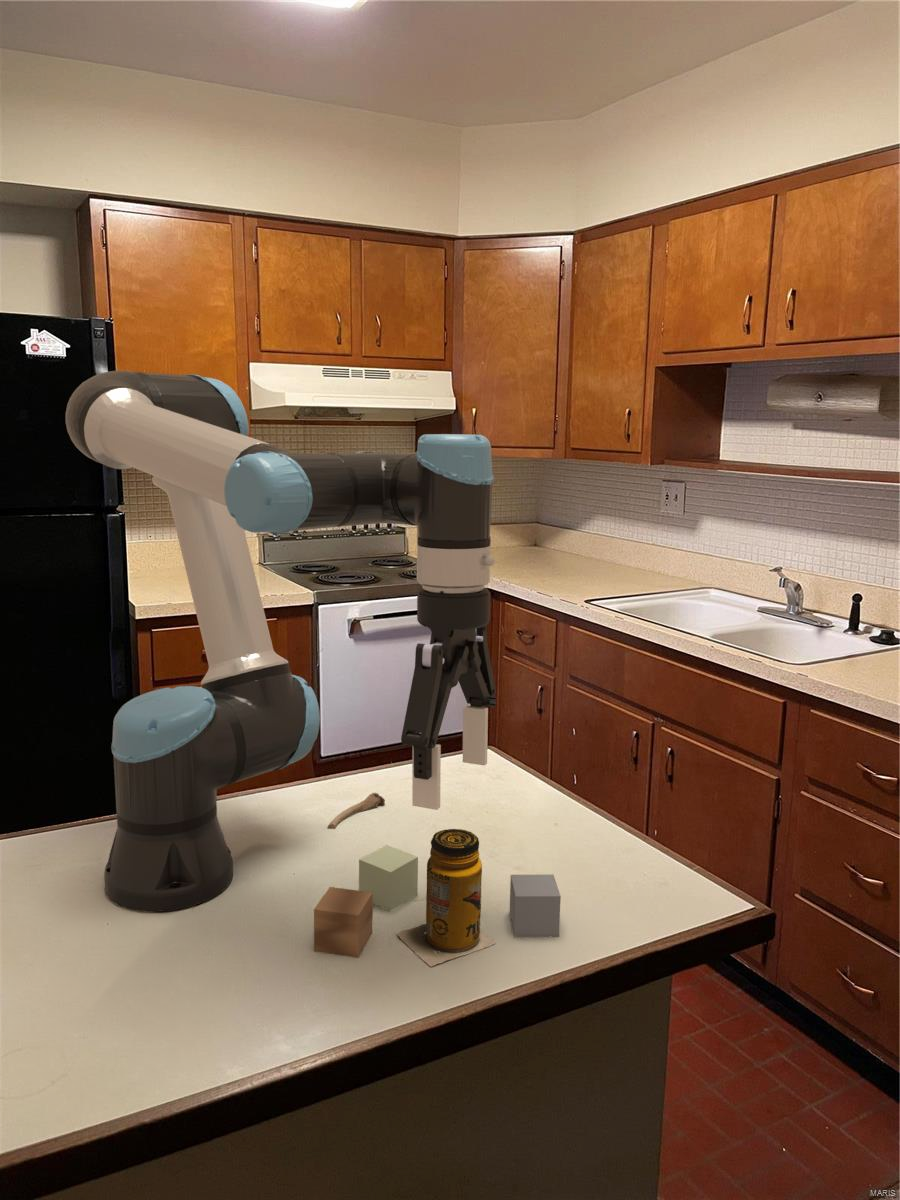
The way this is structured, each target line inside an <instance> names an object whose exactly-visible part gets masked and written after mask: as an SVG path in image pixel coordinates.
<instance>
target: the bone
mask: <svg viewBox="0 0 900 1200" xmlns="http://www.w3.org/2000/svg"><path fill="white" fill-rule="evenodd" d="M385 802H386V799H385V798H384V797H383V796H382V795H380V794H379V792H378V793H377V792H372V793H370V794H369V795H368V796H367V797H366V798H364V800H362V801H360V802H359V803H356V804H354V805H352V806H350V807H348V808H347V809H344V810H343V811H342V812H341V813H339V814H337V815H336V816H335V817H334V819H332V820H331V821H330V822H329V824H328V825H327V827H326V828H327V829H329V830H330V829H331V830H332V829H333V830H336V828H337V826H338V825H339V824H341V822H343V821H344V820H346V819H348V818H349V817H350V816H352V815H354V814H357V813H361V812H364V811H365V812H366V811H369V810H372V809H375V808H377V807H378V806H382V807H383V806H385V805H386V803H385Z"/></svg>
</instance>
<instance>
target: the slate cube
mask: <svg viewBox="0 0 900 1200" xmlns="http://www.w3.org/2000/svg"><path fill="white" fill-rule="evenodd" d="M509 886H510V887H509V888H510V889H509V912H508V913H510V914H509V918H511V919H510V922H511V923H512V924H511V923H510V924H511V928H512V933H513V937H514V938H550V937H549V936H552V937H551V938H559V937H560V920H561V917H560V916H561V900H562V899H561V898H562V897H561V896H562V895H561V893H560V889H559V888H558V887H559V886H558V884H557V880H556V878H555V876H554V874H510V885H509Z"/></svg>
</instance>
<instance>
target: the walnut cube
mask: <svg viewBox="0 0 900 1200" xmlns="http://www.w3.org/2000/svg"><path fill="white" fill-rule="evenodd" d="M373 905H374V904H373V892H366V891H359V889H356V890H355V889H351V888H350V889H348V888H343V887H342V888H341V887H335V886H329V887H328V889H327V890H326V891H325V893H324V894H323V895H322V896H321V898H320V900H319V901H318V902H317V903H316V906H315V907H314V908H313V952H316V953H324V954H330V955H331V954H332V955H335V956H336V955H337V956H343V957H351V958H357V959H358V958H360V956H361V954H362V952H363V951H364V949H365V947H366V945H367V943H368V942H369V940H370V938H371V937H372V935H373V920H374V919H373V918H374V917H373V916H374V915H373V914H374V913H373V912H374V911H373Z"/></svg>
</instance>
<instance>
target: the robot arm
mask: <svg viewBox="0 0 900 1200" xmlns="http://www.w3.org/2000/svg"><path fill="white" fill-rule="evenodd" d="M65 425H66V430H67V433H68V435H69V438H70V440H71V442H72V443H73V444H74V446H75V448H77V449H78V451H80V452H81V453H82V454H83V455H84V456H86V457H87V458H88V459H91V460H93V461H95V462H96V463H99V464H102V465H103V466H106V467H109V468H112V469H117V470H128V469H131V468H134V469H136V470H138V471H140V472H144V473H146V474H148V475H149V476H150V477H151V481H152V484H153V485H154V486H156V487H158V488H160V490H162V491H164V492H165V493H166V494H167V497H168V501H169V506H170V510H171V514H172V519H173V522H174V525H175V531H176V536H177V540H178V544H179V548H180V551H181V555H182V560H183V565H184V568H185V569H184V570H185V572H186V576H187V580H188V585H189V589H190V593H191V598H192V600H193V601H192V602H193V605H194V610H195V615H196V617H197V622H198V627H199V630H200V634H201V639H202V642H203V643H202V644H203V646H204V650H205V656H206V659H207V664H208V669H207V672H206V673H205V675H204V676H203V678H202V679H201V681H200V686H201V687H200V686H195V685H194V686H193V685H180V686H176V687H172V688H170V687H164V688H158V689H155V690H152V691H149V692H145V693H142V694H140V695H137V696H135V697H134V698H132V699H130V700H129V701H127V702H126V703H124V704H123V705H122V706H121V707H120V708H119V709H118V711H117V713H116V714H115V716H114V718H113V721H112V722H113V725H112V739H111V740H112V742H111V747H110V749H111V753H112V755H113V769H114V770H113V771H114V773H113V774H114V789H115V791H114V793H115V809H116V830H115V834H114V838H113V841H112V845H111V848H110V851H109V855H108V858H107V859H108V860H107V863H106V865H105V868H104V872H103V873H104V874H103V878H104V882H103V883H104V893H105V896H106V897H107V899H108V900H109V901H110V902H111V903H113V904H115V905H117V906H118V907H120V908H124V909H127V910H132V911H137V912H150V913H151V912H155V913H157V912H169V911H170V912H171V911H175V910H181V909H182V910H183V909H185V908H189V907H193V906H196V905H199V904H202V903H203V902H206V901H209V900H211V899H213V898H215V897H217V896H218V895H219V894H221V893H222V892H223V891H225V890H226V889H227V888H228V886H229V885H230V884H231V883H232V880H233V877H234V862H233V861H234V860H233V854H232V851H231V849H230V848H229V847H228V845H227V843H226V839H225V836H224V832H223V830H222V827H221V825H220V822H219V819H218V808H217V807H218V806H217V804H218V803H217V800H218V799H217V798H218V797H217V792H218V791H217V790H218V789H221V788H223V787H226V786H229V785H233V784H236V783H238V782H241V781H245V780H247V779H250V778H254V777H256V776H260V775H264V774H266V773H269V772H274V771H275V772H276V771H279V770H280V771H281V770H282V769H284V768H286V767H287V766H289V765H291V764H294V763H296V762H298V761H301V760H302V759H303V758H305V757H306V756H307V755H308V754H309V753H310V751H311V750H312V749H313V746H314V743H315V741H316V740H317V738H318V735H319V731H320V723H321V722H320V721H321V720H320V719H321V717H320V716H321V715H320V707H319V702H318V699H317V695H316V694H315V691H314V689H313V687H311V686H309V685H308V681H306V680H305V678H303V677H301V676H298V675H295V674H292V670H291V666H290V664H289V660H287V659H286V658H284V657H282V656H281V655H279V654H277V653H276V652H275V650H274V646H273V643H272V642H273V641H272V638H271V635H270V629H269V627H268V621H267V617H266V613H265V609H264V605H263V601H262V597H261V594H260V593H261V592H260V589H259V585H258V582H257V581H258V580H257V577H256V573H255V570H254V565H253V560H252V556H251V553H250V548H249V544H248V541H247V536H246V532H245V531H247V532H249V533H255V534H256V533H259V534H260V533H268V534H273V535H281V534H285V533H291V532H297V531H307V530H308V531H309V530H316V529H317V530H318V529H329V528H336V527H337V528H338V527H353V526H366V525H375V524H376V525H377V524H391V525H393V524H394V525H407V526H408V525H409V526H415V527H416V531H417V533H416V534H417V535H416V536H417V537H416V538H417V539H416V541H417V542H416V543H417V544H416V547H417V549H416V582H417V583H418V584H420V585H421V586H422V587H420V588H419V590H418V591H416V593H417V594H416V596H417V597H416V598H417V600H416V603H417V604H416V606H417V607H416V611H417V614H416V619H417V622H418V623H419V624H420V625H421V626H423V627H427V628H428V629H429V630H430V632H431V634H430V641H429V643H417V644H416V647H415V658H414V670H413V674H412V679H411V680H412V681H411V685H410V691H409V696H408V700H407V707H406V711H405V716H404V722H403V726H402V732H401V737H400V738H401V739H400V741H401V744H402V745H407V746H412V749H411V750H412V755H411V757H412V763H411V765H412V769H411V770H412V779H411V780H412V784H411V785H412V786H411V787H412V788H411V789H412V797H411V798H412V805H411V806H412V807H418V808H423V809H428V810H434V811H435V810H436V811H437V810H439V809H441V758H442V756H441V755H442V753H441V752H442V750H441V749H442V748H441V747H442V745H441V744H439V743H438V744H437V742H438V738H439V735H440V731H441V727H442V724H443V720H444V717H445V713H446V710H447V705H448V703H449V700H450V695H451V691H452V689H453V688H454V687H456V686H458V685H459V686H460V688H461V690H462V693H463V696H464V698H465V701H466V703H467V704H468V705H465V704H464V706H463V707H462V763H467V764H472V765H478V766H485V767H486V765H487V764H488V733H489V732H488V731H489V730H488V729H489V728H488V727H489V724H488V723H489V721H488V720H489V717H488V716H489V707H492V708H493V707H496V705H497V701H498V699H497V697H495V695H496V692H497V691H496V690H497V689H496V685H495V678H494V672H493V667H492V661H491V656H490V651H489V646H488V645H489V643H488V632H487V631H488V630H487V629H488V627H487V625H489V623H490V620H491V591H489V589H488V588H487V587H485V586H487V585H488V584H489V583H490V582H491V566H494V565H495V561H496V559H495V558H494V556H492V555H491V542H492V541H491V537H492V536H491V519H492V499H493V483H494V482H495V481H494V477H495V476H494V474H493V462H492V446H491V442H490V440H489V439H488V438H487V437H486V436H484V435H482V434H466V433H465V434H459V433H457V434H456V433H455V434H454V433H453V434H452V433H450V434H449V433H441V434H440V433H439V434H437V433H435V434H434V433H433V434H432V433H431V434H428V433H427V434H422V435H421V436H420V437H419V438H418V441H417V450H416V452H415V453H400V452H379V451H372V450H370V451H356V452H324V453H323V452H322V453H320V452H319V453H318V452H316V453H315V452H314V453H313V452H296V451H292V450H289V449H286V448H283V447H280V446H276V445H274V444H273V445H272V444H271V443H268V442H265V441H262V440H260V439H256V438H253V437H250V436H249V433H250V429H249V421H248V415H247V412H246V409H245V406H244V405H243V403H242V400H241V399H240V397H239V396H238V394H237V393H236V391H235V390H234V389H233V388H232V387H231V386H230V385H228V384H227V383H225V382H223V381H221V380H219V379H217V378H213V377H207V376H206V377H204V376H202V375H199V374H190V373H189V374H169V373H156V372H142V371H140V372H139V371H138V372H137V371H131V370H112V371H111V370H110V371H106V372H102V373H98V374H96V375H93V376H92V377H90V378H88V379H87V380H85V381H83V382H81V384H79V386H78V387H76V389H74V391H73V393H72V394H71V396H69V400H68V402H67V405H66V411H65ZM458 683H459V684H458Z"/></svg>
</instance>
